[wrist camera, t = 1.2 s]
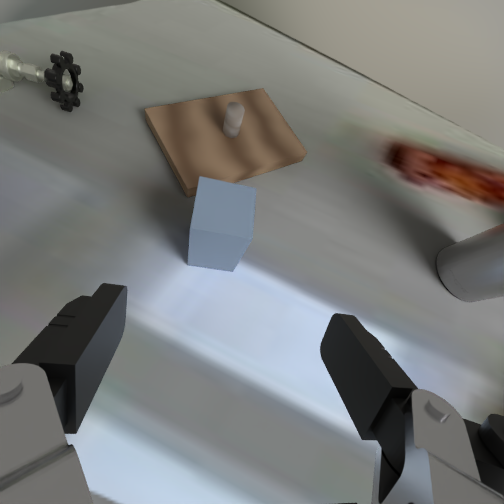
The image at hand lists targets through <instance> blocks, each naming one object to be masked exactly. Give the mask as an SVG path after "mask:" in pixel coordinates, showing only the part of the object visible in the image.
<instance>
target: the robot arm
mask: <svg viewBox="0 0 504 504" xmlns="http://www.w3.org/2000/svg"><path fill="white" fill-rule="evenodd" d="M437 270H438V273H439V276H440V278H441V280H442V282H443V283H444V285H445V286H446V288H447V289H448V290H449V291H450V292H451V293H452V294H453V295H454V296H456V297H458V298H459V299H461V300H463V301H467V302H476V301H481V300H486V299H491V298H496V297H502V296H504V224H501V225H499V226H496V227H494V228H492V229H489V230H487V231H485V232H482V233H480V234H477V235H475V236H473V237H470V238H467V239H465V240H463V241H460V242H458V243H456V244H453V245H451V246H448V247H446V248H444V249H442V250H441V251H440V252H439V254H438V257H437ZM126 305H127V286H123V285H115V284H107V283H103V284H101V286H100V287H99V288H98V289H97V291H96V292H95V293H94V294H93V296H92V297H91V296H80V297H78V298H76V299H75V300H73V301H71V302H69V303H67V304H66V305H65V306H64V307H63V308H62V310H61V311H60V312H59V313H58V314H57V316H56V317H54V318H53V319H52V320H51V322H50V323H49V325H48V326H46V327H45V328H44V329H43V330H42V331H41V332H40V334H39V335H38V336H37V337H36V338H35V339H34V340H33V341H32V342H31V343H30V344H29V346H28V347H27V348H26V349H25V350H24V351H23V352H22V353H21V354H20V355H19V356H18V358H17V359H16V360H15V361H14V362H13V363H12V364H10V365H6V366H2V367H0V504H93V501H92V498H91V495H90V492H89V488H88V485H87V482H86V479H85V476H84V473H83V470H82V467H81V464H80V461H79V458H78V455H77V452H76V450H75V448H74V446H73V445H72V444H71V445H68V443H67V440H66V437H65V434H76V433H77V431H78V429H79V427H80V425H81V423H82V421H83V418H84V416H85V414H86V412H87V410H88V408H89V406H90V404H91V402H92V399H93V397H94V395H95V393H96V391H97V389H98V387H99V385H100V383H101V381H102V378H103V376H104V374H105V372H106V370H107V368H108V366H109V364H110V362H111V360H112V357H113V355H114V353H115V351H116V349H117V347H118V345H119V343H120V341H121V338H122V335H123V332H124V327H125V319H126ZM320 353H321V358H322V360H323V362H324V364H325V366H326V368H327V370H328V372H329V374H330V376H331V378H332V380H333V382H334V384H335V386H336V388H337V390H338V392H339V394H340V396H341V398H342V400H343V402H344V404H345V407H346V409H347V411H348V413H349V415H350V417H351V419H352V421H353V423H354V425H355V427H356V429H357V431H358V433H359V435H360V437H361V439H362V440H377V441H378V442H379V444H380V446H379V448H378V449H377V451H376V457H375V468H374V479H373V491H372V502H371V504H504V416H501V415H498V414H491V415H489V416H488V417H487V419H486V420H485V421H484V422H483V424H482V425H480V424H478V423H475V422H472V421H469V420H466V419H463V418H462V417H461V416H460V414H459V413H458V412H457V411H456V409H455V408H454V407H453V406H452V405H450V404H449V403H448V402H447V401H445V400H444V399H443V398H441V397H440V396H438V395H436V394H434V393H432V392H430V391H427V390H423V389H418V388H417V387H416V385H415V384H414V383H413V382H412V381H411V379H410V378H409V377H408V376H407V375H406V373H405V372H404V371H403V370H402V368H401V367H400V366H399V365H398V364H397V362H396V361H395V360H394V359H392V356H391V355H390V354H389V353H388V352H387V350H385V348H384V347H383V345H382V344H381V343H380V342H379V341H378V339H377V338H376V337H374V336H373V335H372V334H371V333H369V332H368V331H367V330H366V329H365V328H364V327H363V326H362V324H361V323H360V322H359V321H358V319H357V318H356V317H355V316H353V315H346V314H338V313H335V314H334V315H333V316H332V317H331V320H330V322H329V325H328V327H327V330H326V332H325V334H324V337H323V339H322V342H321V346H320ZM340 504H357V503H340Z"/></svg>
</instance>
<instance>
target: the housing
mask: <svg viewBox="0 0 504 504" xmlns="http://www.w3.org/2000/svg"><path fill="white" fill-rule="evenodd" d="M255 200H256V188H253V187H248V186H243V185H239V184H234V183H229V182H225V181H220V180H215V179H211V178H206V177H201V176H200V177H199V182H198V188H197V193H196V199H195V204H194V210H193V215H192V220H191V226H190V236H189V250H188V264H187V265H190V266H197V267H204V268H211V269H217V270H224V271H231V272H233V271H234V269H235V267H236V266H237V264H238V262H239V261H240V259H241V257H242V256H243V254H244V252H245V251H246V249H247V247H248V246H249V244H250V242H251V241H252V239H253V227H254V213H255Z"/></svg>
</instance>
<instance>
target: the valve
mask: <svg viewBox="0 0 504 504" xmlns="http://www.w3.org/2000/svg"><path fill="white" fill-rule="evenodd" d="M62 56H63V57H64V59H63V57H62ZM50 59H51V62H52V63H55V64H54V65H53V68H52V69H49V68H47V69H46V70H45V72H43V71H42V69H41V68H40V67H39V66H36V65H32V64H29V63H27V64H24V63H23V62H22V61H21V60H20V58H19V57H18V56H17V55H16V54H14V53H10V52H7V51H1V52H0V93H3V92H6V91H8V90H10V89H13V88H14V83H13V81H16V82H19V81H21V80H22V78H23V77H26V79H27V80H31V81H34V82H38V83H40V82H43V80H44V81H45V82H46V84H47V85H48V86H49V87H53V88H56V91H57V92H56V93H55V92H51V98H52V100H53V101H56V102H59V103H64V105H61V104H60V107H61V109H62V110H65V111H69V112H72V110H73V106H76V107H79V106H80V100H79V98H78V92H83V89H84V88H83V84H82V83H79V82H78V75H80V74H81V68H80V66H79V65H76V64H72V63H73V56H72V54H70V53H67V52H64V51H61V52H60V56H59V55H56V54H51V56H50ZM65 69H68V71H69V73H70V75H71V78H70V76H68V75H65V74H63V73H64V71H65ZM71 88H72V89H71ZM64 90H71V93H68V92H65V91H64Z"/></svg>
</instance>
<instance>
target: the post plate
mask: <svg viewBox="0 0 504 504" xmlns="http://www.w3.org/2000/svg"><path fill="white" fill-rule="evenodd" d="M145 116H146V121H147V123H148V125H149V127H150V129H151V130H152V132H153V134H154V136H155V138H156V140H157V142H158V144H159V145H160V147H161V149H162V151H163V153H164V155H165V157H166V158H167V160H168V162H169V164H170V166H171V168H172V170H173V172H174V173H175V175H176V177H177V179H178V181H179V183H180V185H181V187H182V188H183V190H184V192H185V194H186V196H187V198H188V197H191V196H194V195H196V193H197V188H198V182H199V177H200V176H201V177H206V178H211V179H215V180H220V181H225V182H229V183H235V182H238V181H241V180H244V179H247V178H250V177H253V176H256V175H260V174H263V173H266V172H269V171H272V170H275V169H278V168H281V167H284V166H287V165H291V164H294V163H297V162H300V161H302V160H303V158H304V157H305V155H306V153H307V151H306V150H305V148H304V147H303V145H302V144H301V142H300V141H299V139H298V138H297V137H296V135H295V134H294V132H293V131H292V129H291V128H290V126H289V125H288V124H287V122H286V121H285V119H284V118H283V116H282V115H281V113H280V112H279V111H278V109H277V108H276V106H275V105H274V103H273V102H272V100H271V99H270V97H269V96H268V95H267V93H266V92H265V90H264V89H263V88H262V89H256V90H251V91H245V92H239V93H233V94H227V95H221V96H215V97H209V98H204V99H198V100H192V101H186V102H180V103H174V104H168V105H162V106H156V107H151V108H145Z"/></svg>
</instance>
